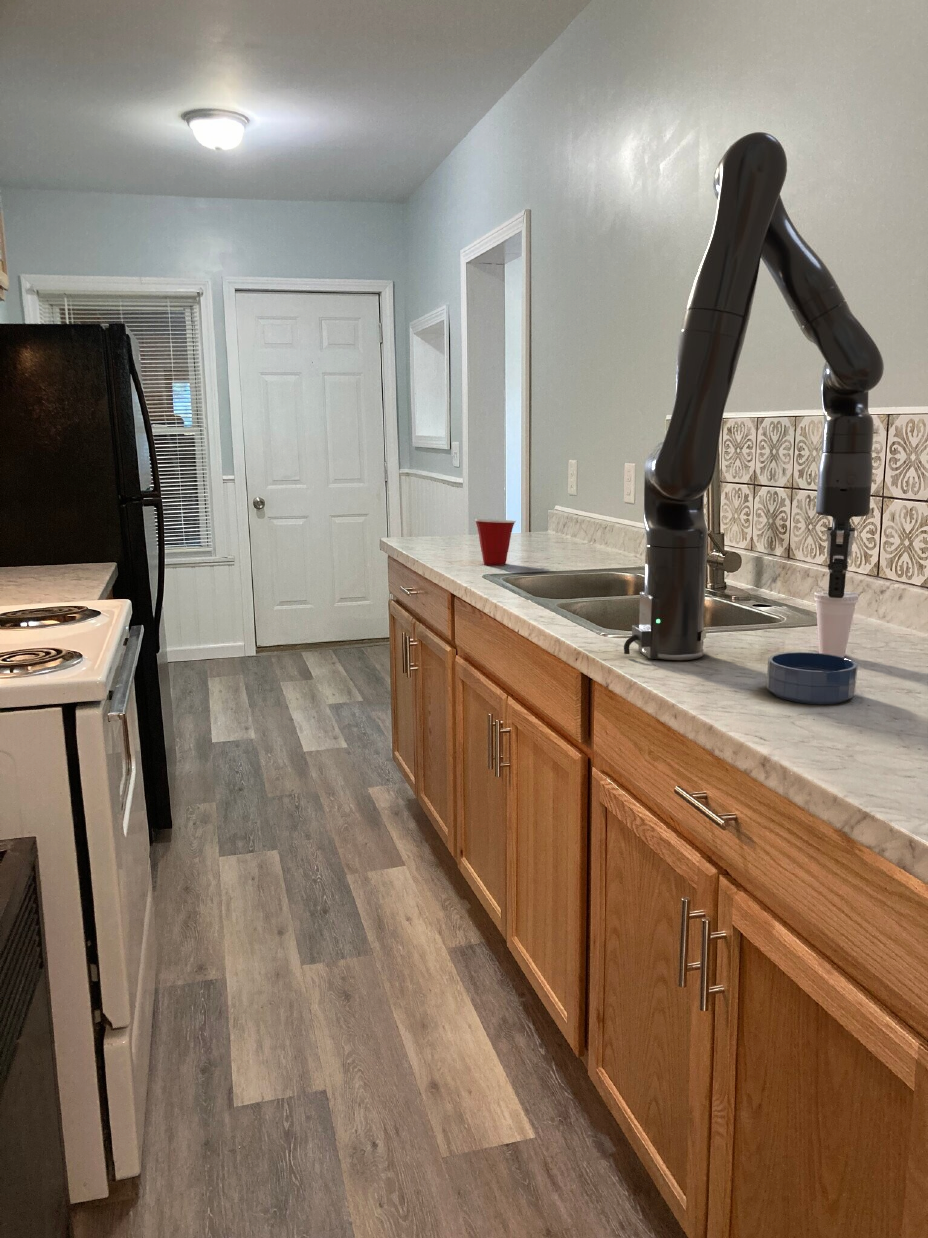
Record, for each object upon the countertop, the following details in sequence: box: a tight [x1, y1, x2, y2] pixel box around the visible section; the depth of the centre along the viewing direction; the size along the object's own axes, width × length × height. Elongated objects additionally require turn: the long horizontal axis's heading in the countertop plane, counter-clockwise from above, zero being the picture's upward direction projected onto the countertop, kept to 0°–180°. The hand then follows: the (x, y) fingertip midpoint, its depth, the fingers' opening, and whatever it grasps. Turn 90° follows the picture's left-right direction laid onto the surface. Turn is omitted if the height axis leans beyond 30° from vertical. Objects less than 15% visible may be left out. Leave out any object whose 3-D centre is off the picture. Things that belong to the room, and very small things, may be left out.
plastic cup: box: [474, 518, 517, 567], centre depth 251 cm, size 11×11×12 cm
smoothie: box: [813, 589, 859, 658], centre depth 148 cm, size 6×6×14 cm
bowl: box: [766, 651, 858, 705], centre depth 128 cm, size 11×11×4 cm
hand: (836, 593), depth 147 cm, fingers closed on smoothie, 6 cm apart
